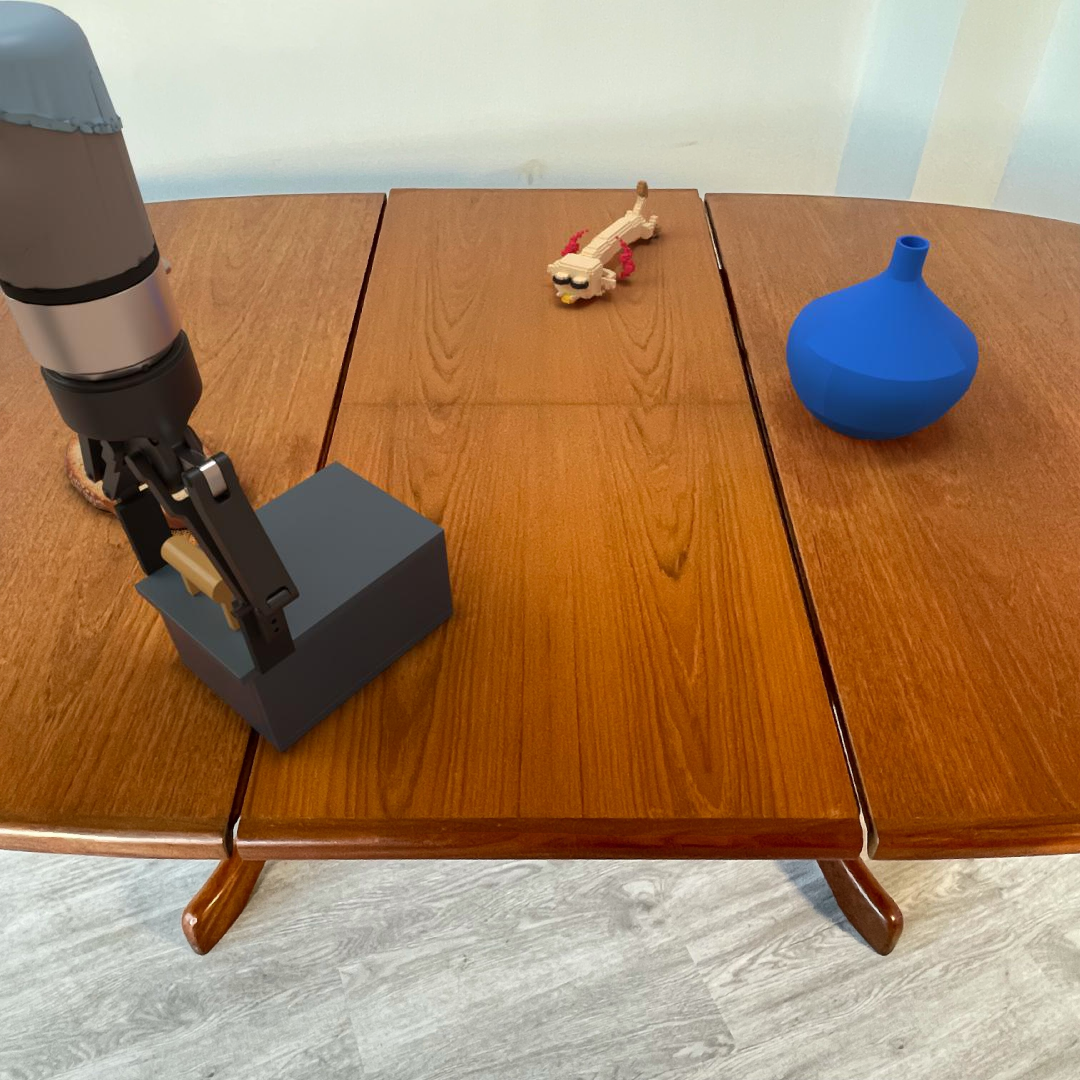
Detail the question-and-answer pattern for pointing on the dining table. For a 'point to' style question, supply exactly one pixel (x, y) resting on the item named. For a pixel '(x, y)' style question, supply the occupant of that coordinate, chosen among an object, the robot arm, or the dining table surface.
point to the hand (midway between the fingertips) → (216, 610)
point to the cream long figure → (602, 254)
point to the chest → (333, 653)
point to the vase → (882, 352)
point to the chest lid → (295, 563)
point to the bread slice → (94, 490)
